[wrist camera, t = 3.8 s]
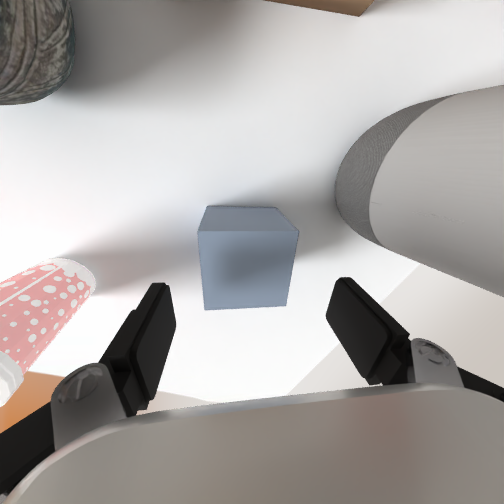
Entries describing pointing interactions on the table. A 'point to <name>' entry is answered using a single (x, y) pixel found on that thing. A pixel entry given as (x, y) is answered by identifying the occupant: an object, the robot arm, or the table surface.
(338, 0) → the walnut block
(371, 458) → the robot arm
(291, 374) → the table surface
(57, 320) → the beverage cup
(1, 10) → the mug
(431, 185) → the smart speaker
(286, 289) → the slate cube
